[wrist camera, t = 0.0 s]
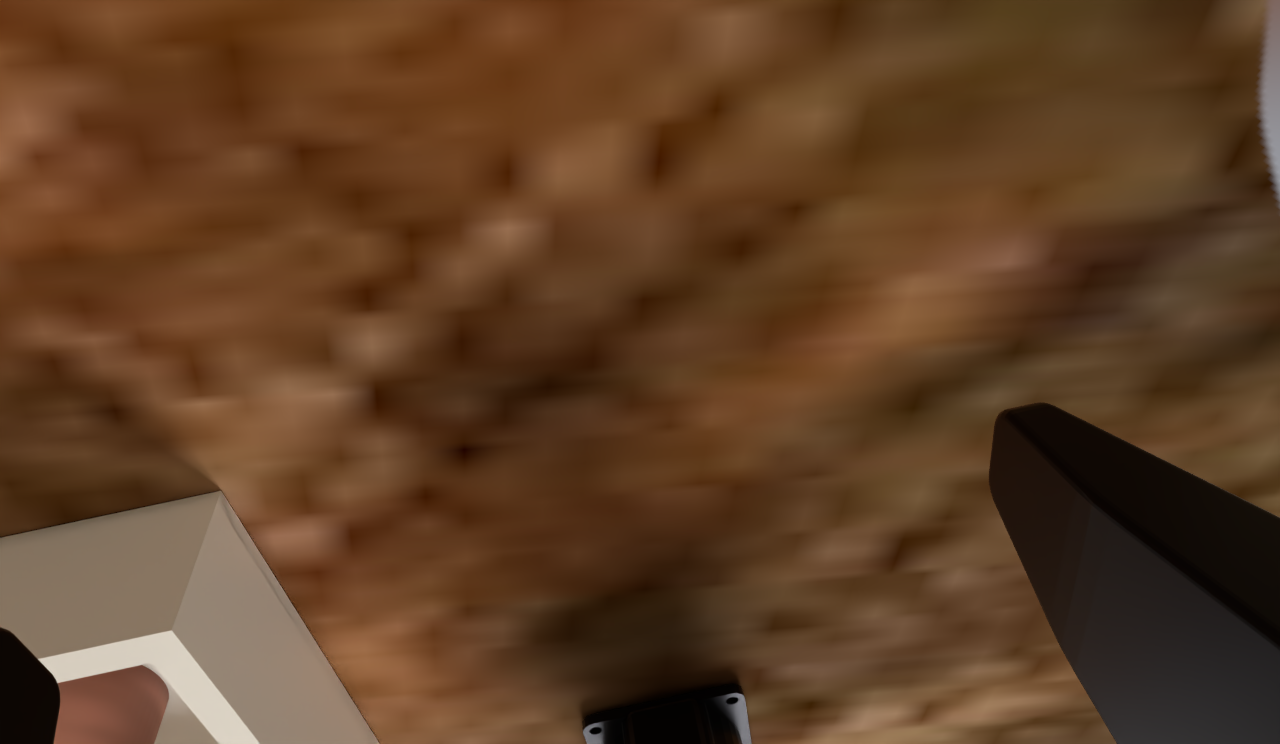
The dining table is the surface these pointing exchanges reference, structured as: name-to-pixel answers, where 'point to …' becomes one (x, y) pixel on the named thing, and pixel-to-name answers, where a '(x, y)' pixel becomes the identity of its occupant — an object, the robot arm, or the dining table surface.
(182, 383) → the dining table surface
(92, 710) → the dowel pin
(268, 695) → the square storage bin
